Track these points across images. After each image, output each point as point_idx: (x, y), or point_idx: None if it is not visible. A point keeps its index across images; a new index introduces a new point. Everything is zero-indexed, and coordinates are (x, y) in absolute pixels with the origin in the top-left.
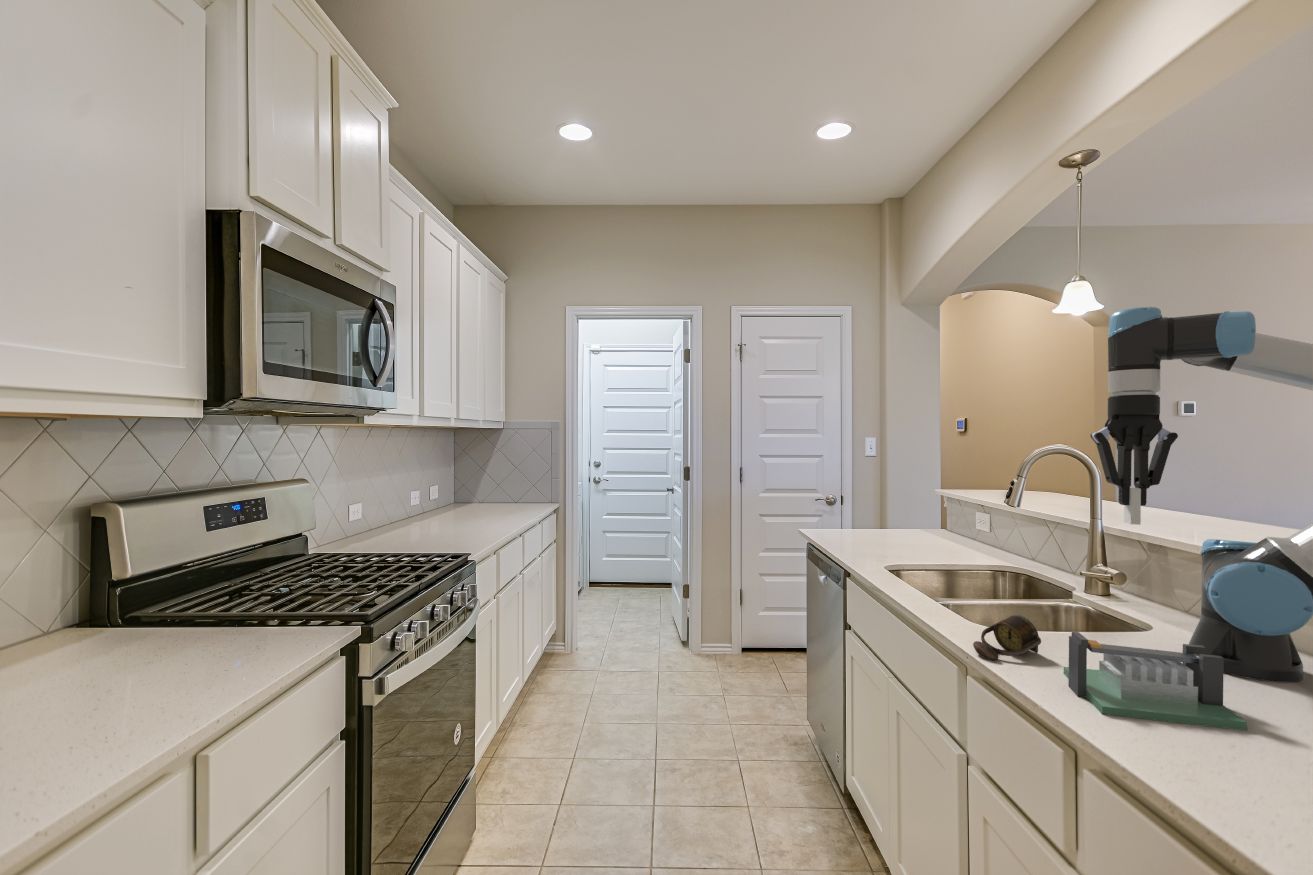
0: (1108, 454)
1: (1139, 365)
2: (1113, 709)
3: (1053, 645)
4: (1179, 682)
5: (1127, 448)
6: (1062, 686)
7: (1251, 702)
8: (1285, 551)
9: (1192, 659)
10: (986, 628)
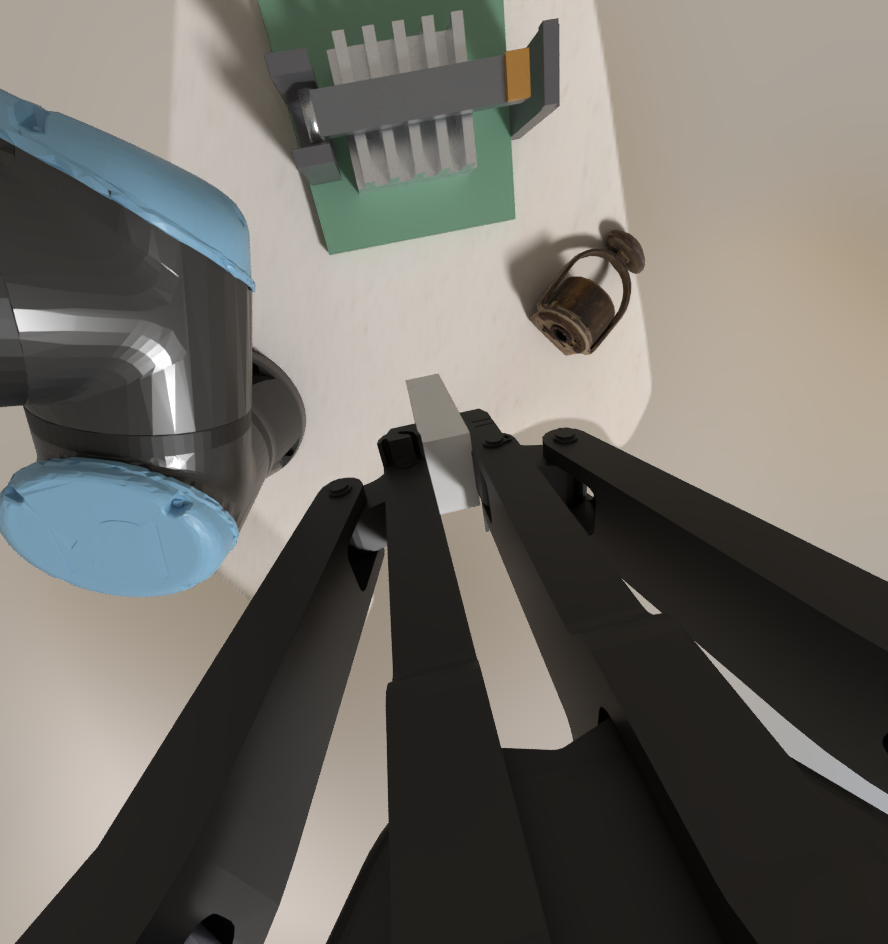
0: (763, 543)
1: None
2: None
3: (494, 377)
4: (356, 68)
5: (648, 627)
6: (529, 132)
7: (239, 207)
8: None
9: (325, 88)
10: (621, 316)
